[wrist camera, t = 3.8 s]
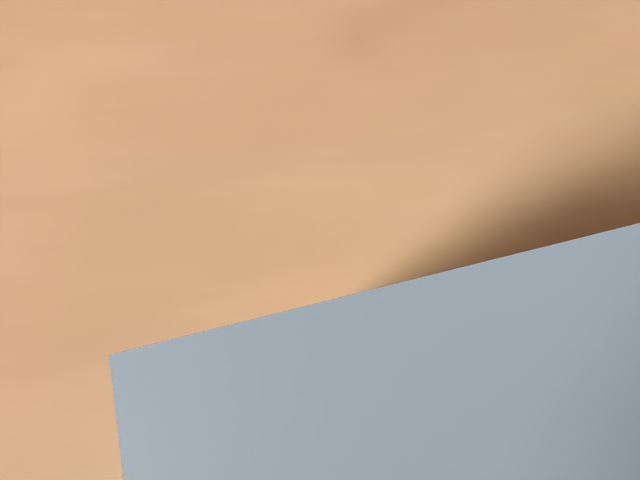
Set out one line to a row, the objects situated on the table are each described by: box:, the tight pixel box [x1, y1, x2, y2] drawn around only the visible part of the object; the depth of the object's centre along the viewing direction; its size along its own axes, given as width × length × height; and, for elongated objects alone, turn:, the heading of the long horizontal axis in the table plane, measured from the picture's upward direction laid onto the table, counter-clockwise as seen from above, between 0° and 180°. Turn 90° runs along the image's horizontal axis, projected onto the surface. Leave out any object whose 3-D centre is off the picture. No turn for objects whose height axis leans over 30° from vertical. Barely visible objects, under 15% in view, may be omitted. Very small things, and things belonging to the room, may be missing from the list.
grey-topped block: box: [109, 223, 640, 480], centre depth 8 cm, size 4×4×12 cm
